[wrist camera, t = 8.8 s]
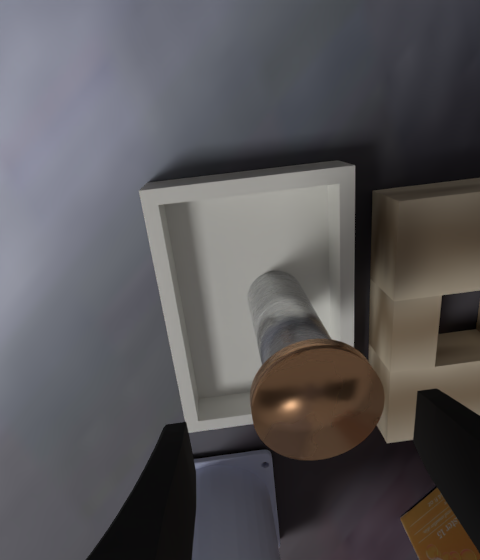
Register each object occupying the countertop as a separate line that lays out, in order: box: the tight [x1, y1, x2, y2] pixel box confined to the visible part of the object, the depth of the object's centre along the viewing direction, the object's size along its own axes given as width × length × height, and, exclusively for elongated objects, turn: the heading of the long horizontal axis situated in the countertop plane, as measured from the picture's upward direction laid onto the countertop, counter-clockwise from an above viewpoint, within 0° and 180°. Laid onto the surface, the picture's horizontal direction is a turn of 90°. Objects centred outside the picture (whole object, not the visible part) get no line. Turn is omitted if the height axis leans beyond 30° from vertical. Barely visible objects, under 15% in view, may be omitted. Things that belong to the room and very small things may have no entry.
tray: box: [139, 160, 355, 433], centre depth 20 cm, size 13×9×2 cm
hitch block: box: [368, 178, 480, 443], centre depth 21 cm, size 14×9×3 cm, turn 6°
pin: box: [247, 271, 385, 460], centre depth 17 cm, size 4×4×9 cm
